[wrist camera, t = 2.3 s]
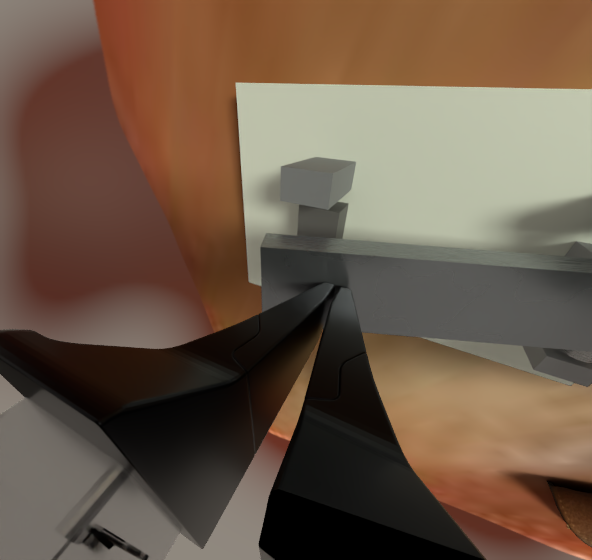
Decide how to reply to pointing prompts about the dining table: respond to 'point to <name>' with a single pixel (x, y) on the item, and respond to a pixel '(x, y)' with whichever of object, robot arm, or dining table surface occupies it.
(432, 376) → the dining table surface
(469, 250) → the bar
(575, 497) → the sunglasses case
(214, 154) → the dining table surface
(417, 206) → the base
